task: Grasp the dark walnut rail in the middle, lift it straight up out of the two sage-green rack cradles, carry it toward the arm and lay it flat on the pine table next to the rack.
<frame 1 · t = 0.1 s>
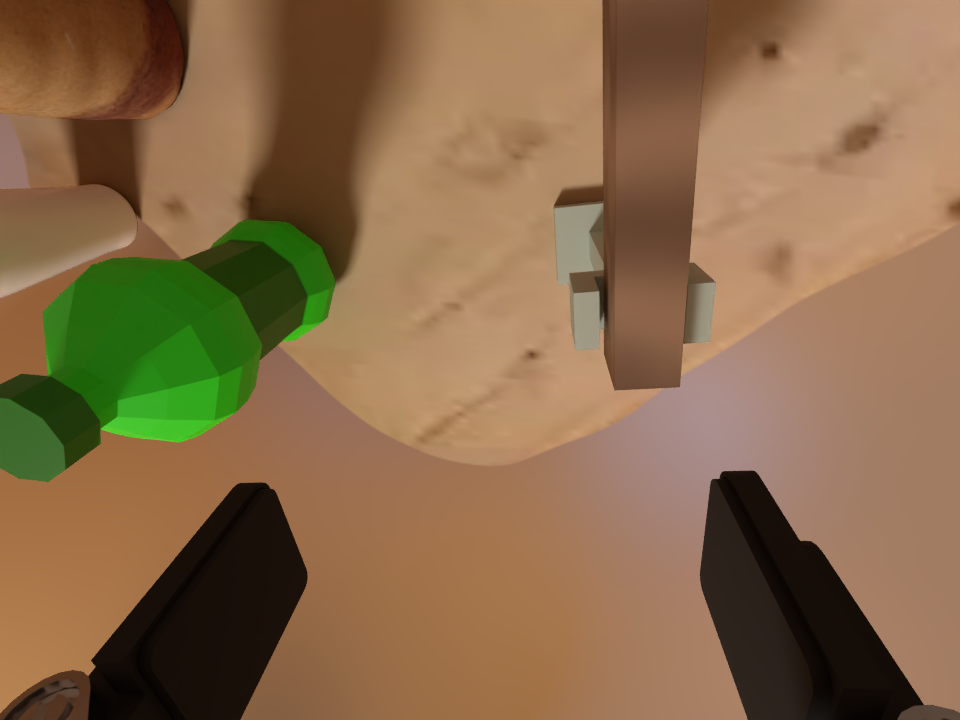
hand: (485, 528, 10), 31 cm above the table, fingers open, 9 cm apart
wafer roll: (123, 37, 35), on the table
walnut rail: (639, 55, 20), point 14 cm above the table, touching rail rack
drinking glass: (113, 215, 41), on the table
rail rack: (599, 80, 33), on the table
plastic bottle: (294, 268, 42), on the table
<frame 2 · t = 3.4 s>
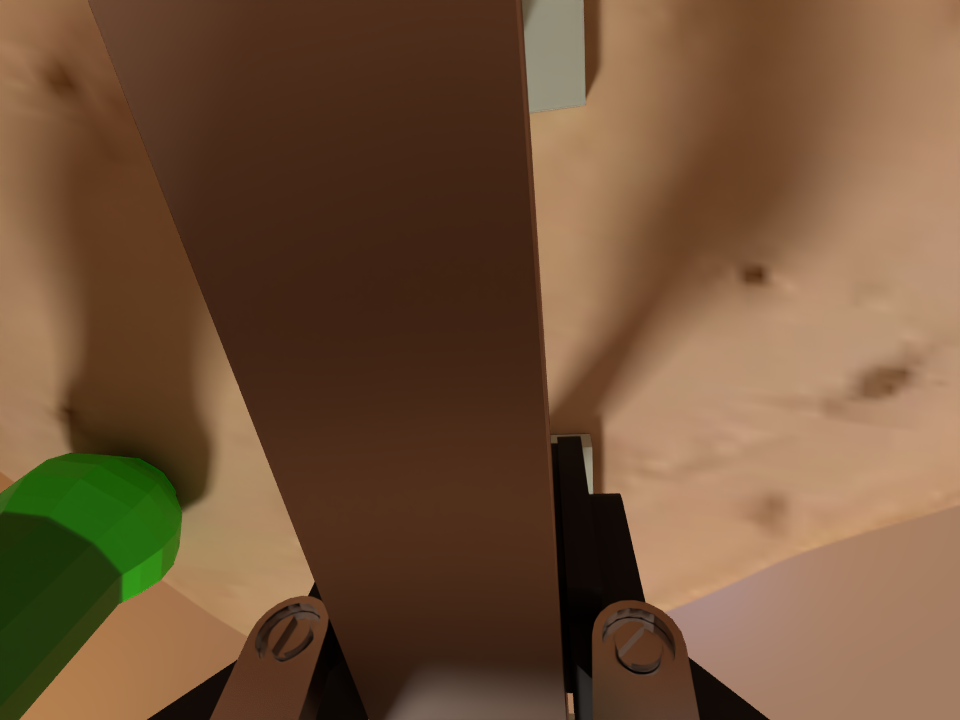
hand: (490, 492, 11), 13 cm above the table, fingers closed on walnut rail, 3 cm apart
walnut rail: (487, 516, 11), point 14 cm above the table, touching gripper, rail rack
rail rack: (513, 300, 23), on the table
plastic bottle: (140, 485, 32), on the table
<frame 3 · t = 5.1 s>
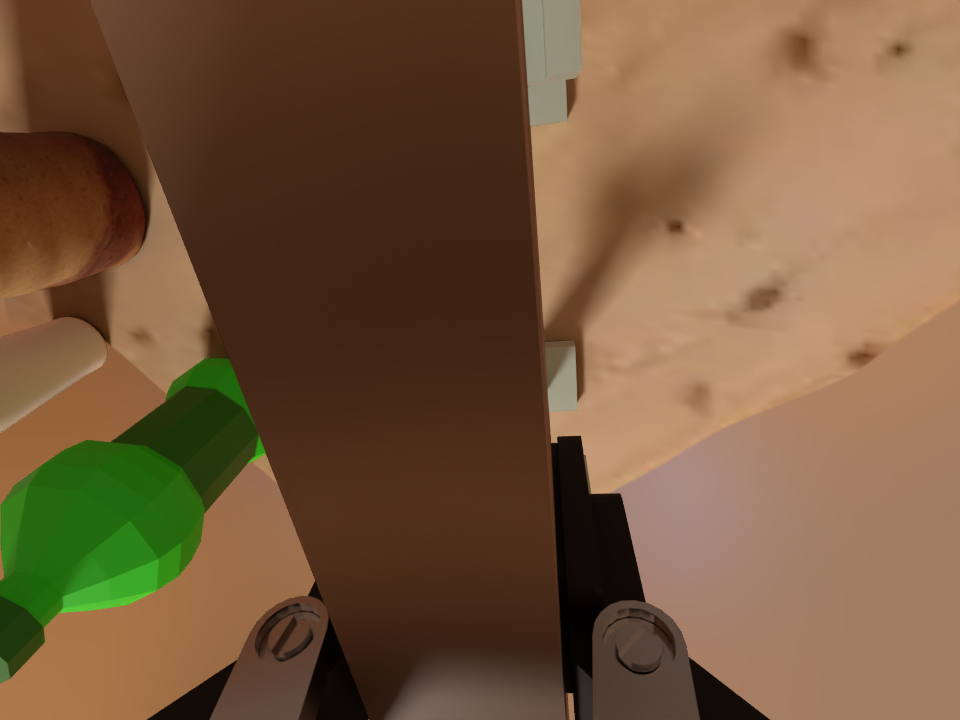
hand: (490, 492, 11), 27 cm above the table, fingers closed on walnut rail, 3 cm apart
wafer roll: (90, 197, 38), on the table
walnut rail: (487, 516, 11), point 28 cm above the table, touching gripper
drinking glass: (85, 340, 44), on the table
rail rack: (523, 245, 36), on the table
plastic bottle: (254, 389, 45), on the table
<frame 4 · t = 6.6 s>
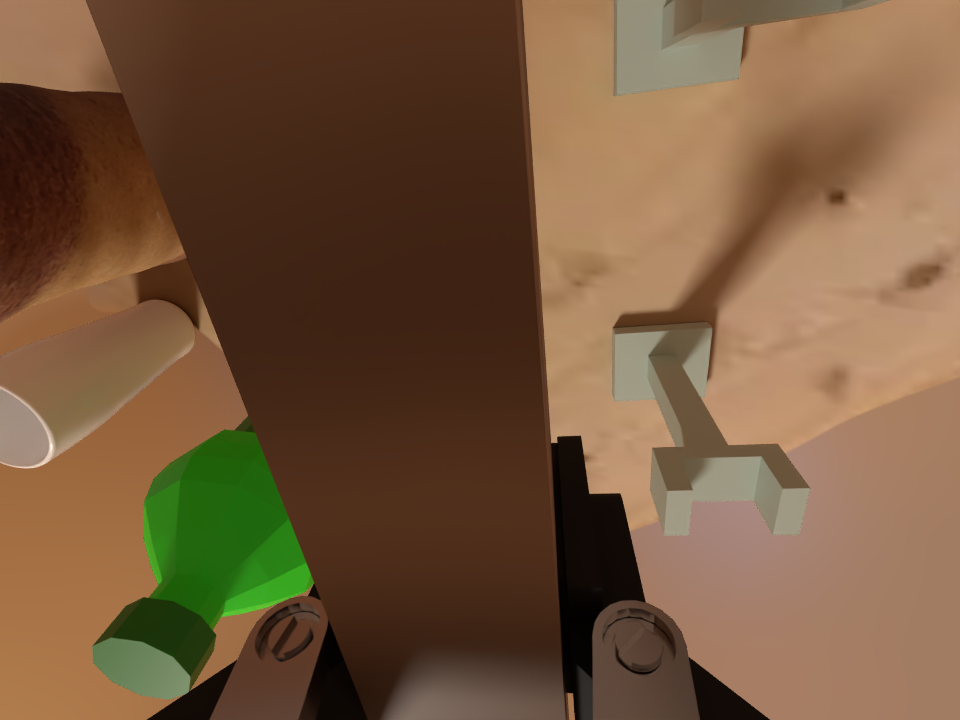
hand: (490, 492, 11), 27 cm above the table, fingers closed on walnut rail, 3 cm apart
wafer roll: (189, 169, 35), on the table
walnut rail: (487, 518, 11), point 27 cm above the table, touching gripper
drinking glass: (171, 325, 42), on the table
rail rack: (664, 219, 33), on the table
plastic bottle: (350, 375, 42), on the table
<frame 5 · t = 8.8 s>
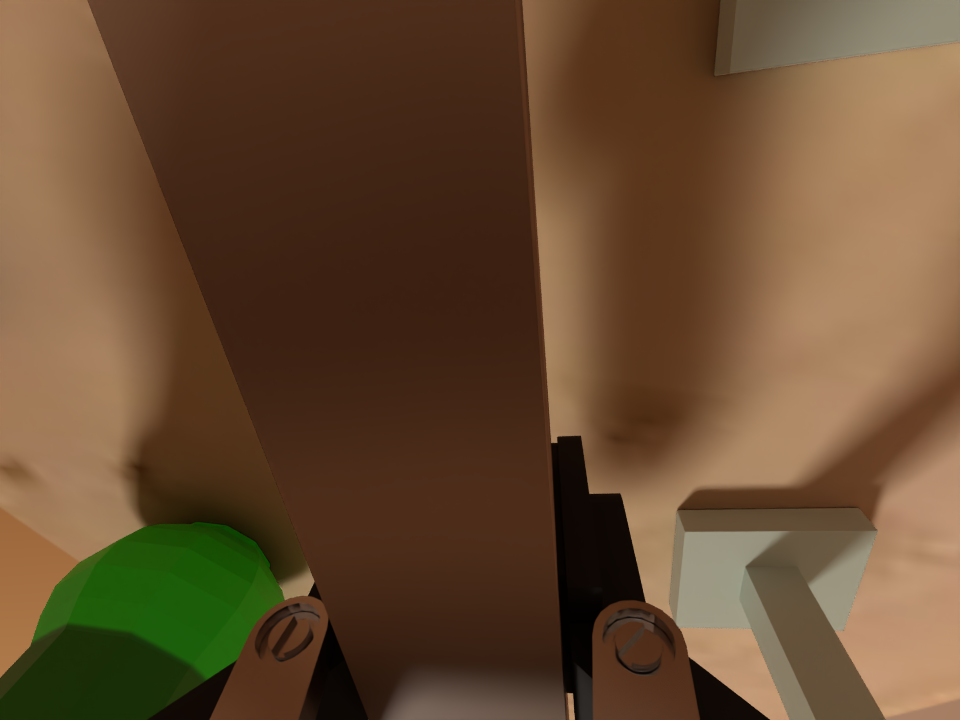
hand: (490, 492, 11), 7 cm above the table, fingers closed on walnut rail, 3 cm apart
walnut rail: (487, 519, 11), point 8 cm above the table, touching gripper
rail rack: (800, 332, 16), on the table
plastic bottle: (223, 555, 25), on the table
when the fingers open (1 cm above the table, at t = 10.3 s): walnut rail drops 2 cm, on the table.
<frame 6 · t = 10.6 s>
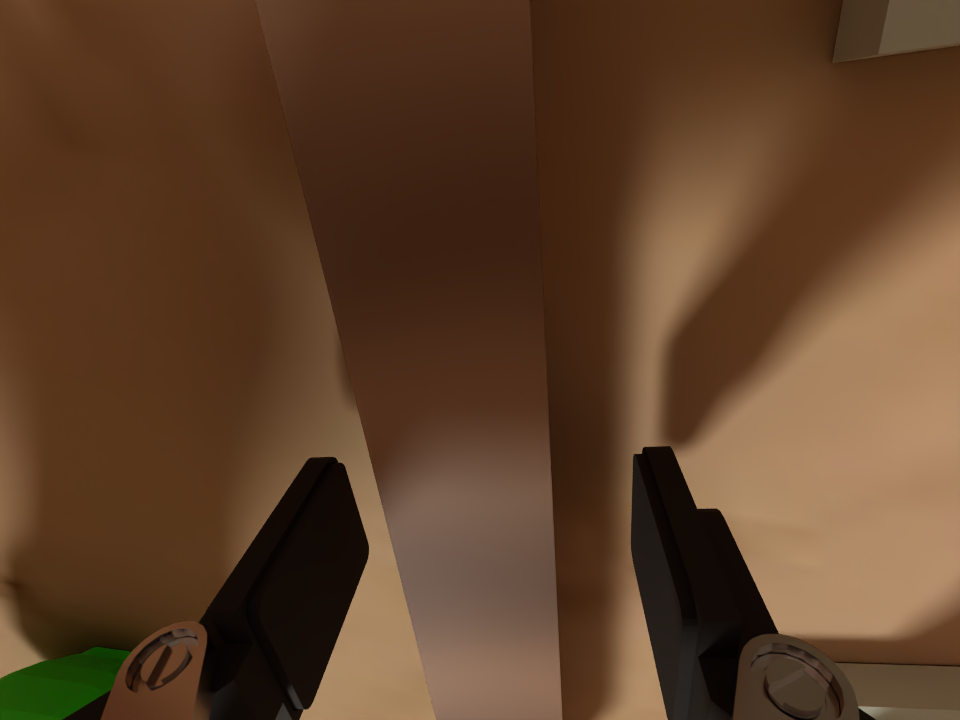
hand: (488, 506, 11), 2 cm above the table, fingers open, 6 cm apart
walnut rail: (493, 451, 13), on the table
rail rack: (928, 447, 11), on the table
plastic bottle: (137, 682, 20), on the table
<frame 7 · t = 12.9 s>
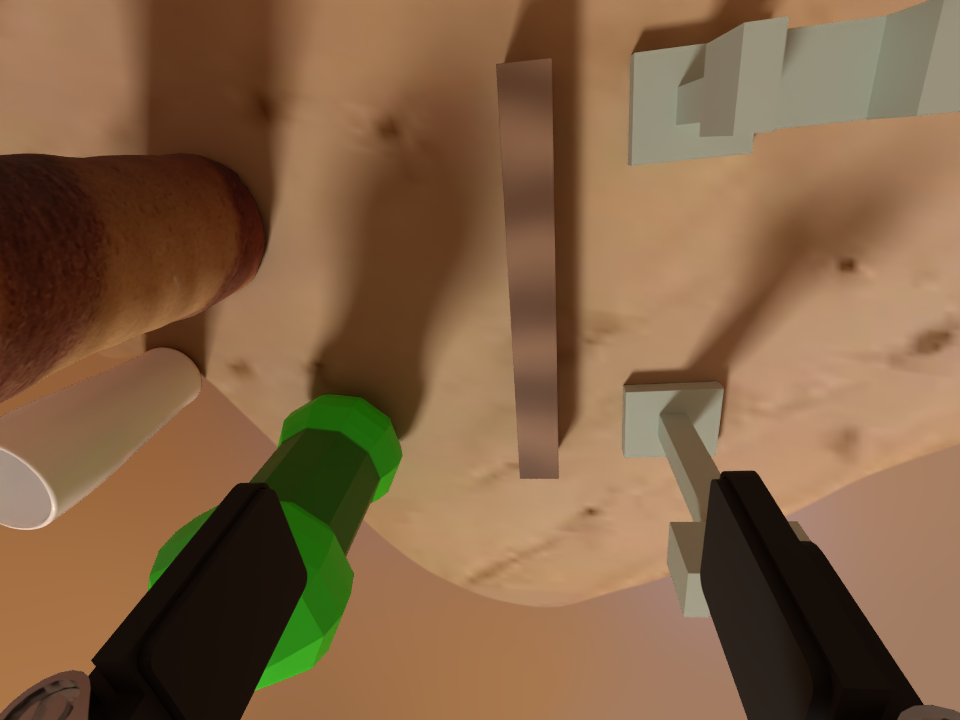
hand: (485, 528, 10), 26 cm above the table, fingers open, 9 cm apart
wafer roll: (204, 222, 35), on the table
walnut rail: (533, 290, 35), on the table
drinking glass: (177, 372, 41), on the table
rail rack: (676, 281, 33), on the table
plastic bottle: (356, 425, 42), on the table
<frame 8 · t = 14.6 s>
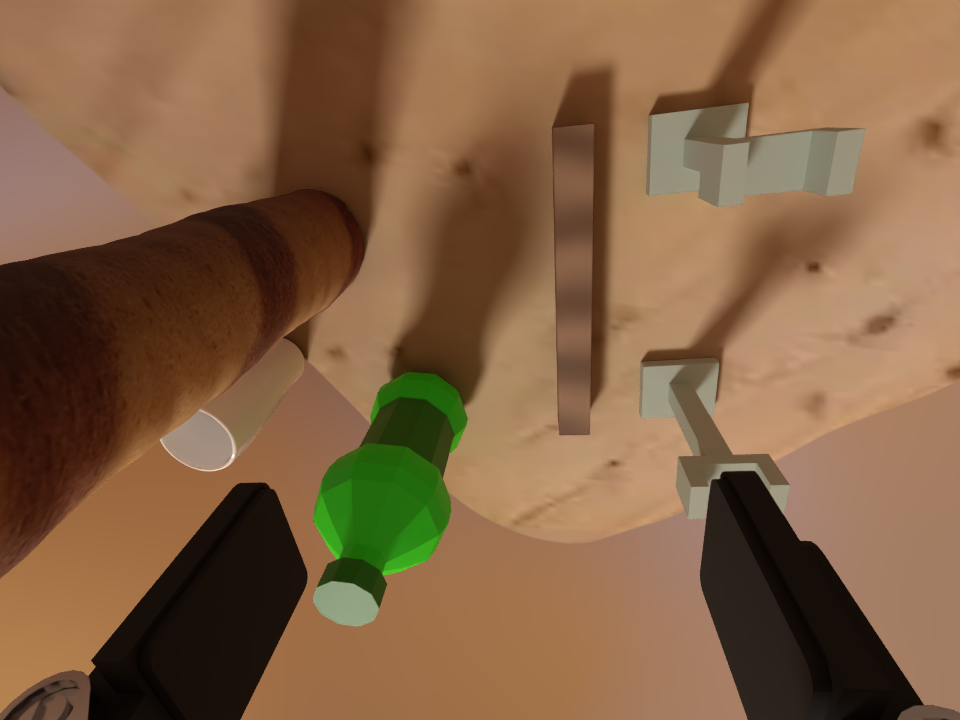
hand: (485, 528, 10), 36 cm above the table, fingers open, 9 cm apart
wafer roll: (314, 239, 46), on the table
walnut rail: (571, 288, 45), on the table
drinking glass: (284, 356, 52), on the table
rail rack: (683, 281, 44), on the table
plastic bottle: (427, 397, 52), on the table
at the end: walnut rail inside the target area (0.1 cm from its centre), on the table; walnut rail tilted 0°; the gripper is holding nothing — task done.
